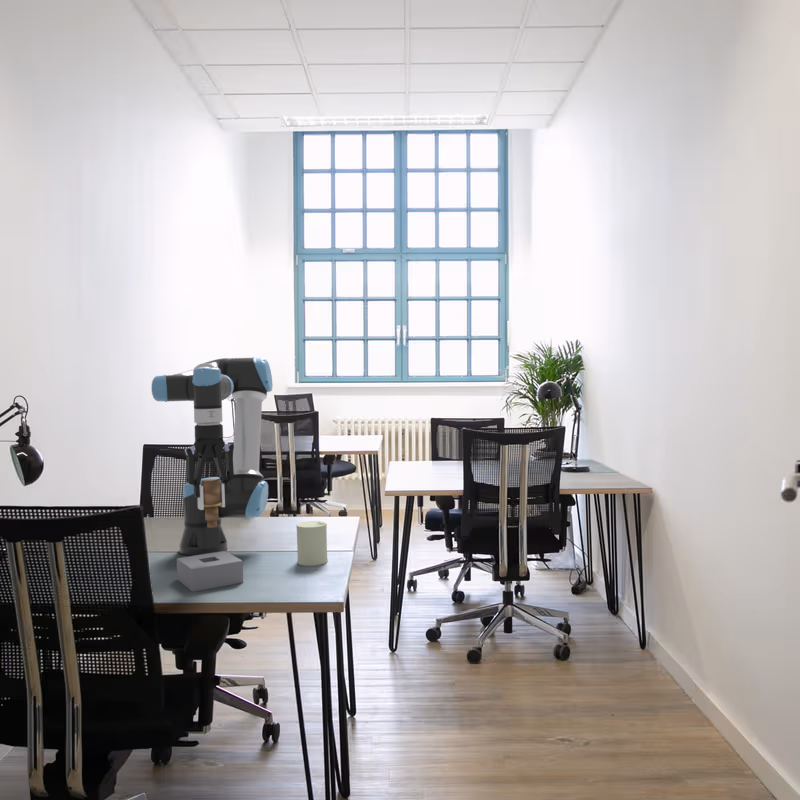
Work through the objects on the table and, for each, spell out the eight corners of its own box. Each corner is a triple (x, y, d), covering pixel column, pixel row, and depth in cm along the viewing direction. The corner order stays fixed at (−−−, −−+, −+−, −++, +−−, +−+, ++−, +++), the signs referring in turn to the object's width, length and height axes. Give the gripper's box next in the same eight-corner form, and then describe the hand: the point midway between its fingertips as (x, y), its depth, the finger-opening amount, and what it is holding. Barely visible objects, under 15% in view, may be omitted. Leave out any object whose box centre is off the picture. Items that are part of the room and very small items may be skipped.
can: (327, 565, 218) (326, 525, 217) (296, 566, 217) (295, 526, 217) (328, 557, 227) (327, 518, 226) (298, 558, 226) (297, 519, 226)
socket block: (225, 571, 213) (225, 550, 213) (243, 582, 202) (242, 560, 202) (177, 579, 206) (176, 558, 206) (192, 591, 194) (191, 569, 194)
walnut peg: (218, 523, 207) (216, 477, 206) (225, 526, 203) (223, 480, 202) (199, 526, 204) (197, 479, 203) (206, 529, 199) (204, 482, 199)
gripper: (179, 426, 194) (182, 514, 195) (245, 422, 204) (248, 505, 205) (171, 425, 200) (174, 509, 201) (235, 421, 210) (237, 501, 211)
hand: (211, 507), depth 203 cm, fingers closed on walnut peg, 5 cm apart
